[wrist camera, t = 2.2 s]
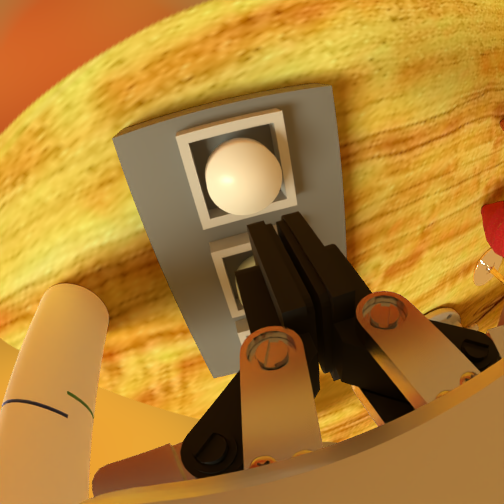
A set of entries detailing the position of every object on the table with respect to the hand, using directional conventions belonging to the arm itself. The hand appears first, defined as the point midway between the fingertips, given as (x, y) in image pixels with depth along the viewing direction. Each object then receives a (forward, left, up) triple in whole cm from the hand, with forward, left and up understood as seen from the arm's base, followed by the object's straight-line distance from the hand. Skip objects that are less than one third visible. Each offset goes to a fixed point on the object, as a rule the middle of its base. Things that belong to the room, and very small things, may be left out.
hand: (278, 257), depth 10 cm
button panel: (0, +8, -14) cm, 16 cm away
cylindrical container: (+18, +10, -14) cm, 25 cm away
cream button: (0, 0, -10) cm, 10 cm away
